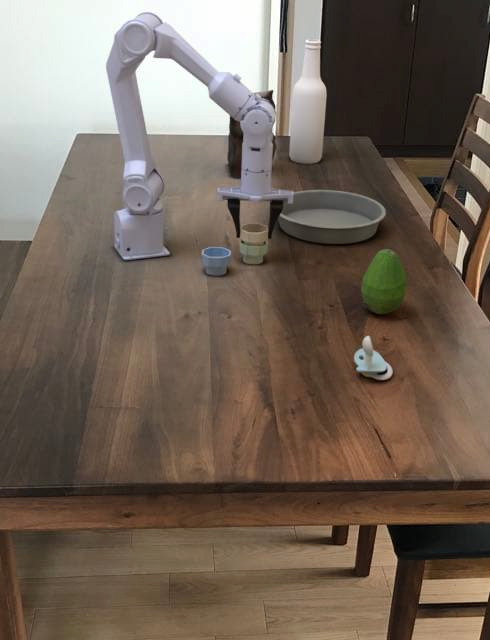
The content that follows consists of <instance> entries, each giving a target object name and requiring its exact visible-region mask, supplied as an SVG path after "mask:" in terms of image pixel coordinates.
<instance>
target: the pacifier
mask: <svg viewBox="0 0 490 640" xmlns="http://www.w3.org/2000/svg"><path fill="white" fill-rule="evenodd" d="M361 345H362V348H359V349H358V350H356V352H355V353H354V357H353V359H354V361H353V362H354V364H355V365H356V366H357V367H356V369H355V370H356V372H358V373H361V374H362V376H364V377H366V378H372V379H374V380H377V381H385V380H389V379H391V377H393V373H394V371H393V368H392V366H391V365H390V363H389V362H387V361H385V360H384V358H383V356H382V355H381V354H380V353H379V352H378V351H376V350H374V347H373V343H372V339H371V336H370V335H367V336H365V337H364V338H363V340H362V343H361ZM360 358H363V359H360ZM385 371H386V373H384V374H380V373H383V372H385ZM378 373H379V374H378Z"/></svg>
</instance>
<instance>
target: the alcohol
mask: <svg viewBox="0 0 490 640" xmlns="http://www.w3.org/2000/svg"><path fill="white" fill-rule="evenodd" d="M304 43H305V44H304V55H303V63H302V70H301V75H300V78H298V80H297V81H296V83H295V84H294V85H293V90H292V98H291V113H290V114H291V116H290V133H289V152H288V156H289V159H290V160H291V161H292V162H294V163H298V164H304V165H308V164H309V165H312V164H316V163H318V162H320V161H321V160H322V158H323V147H324V135H325V134H324V133H325V122H326V121H325V120H326V110H327V109H326V108H327V107H326V106H327V97H328V95H327V87H326V85H325V83H324V82H323V81H322V77H321V47H322V46H321V44H322V41H321V40H320V39H315V38H308V39H306V40H305V41H304Z"/></svg>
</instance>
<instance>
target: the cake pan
mask: <svg viewBox="0 0 490 640" xmlns="http://www.w3.org/2000/svg"><path fill="white" fill-rule="evenodd" d="M293 193H294V196H293V204H289V203H287V202H283V210H282V212H281V214H280V216H279V217H278V219H277V220H278V224H279V228H280V229H281V230H282V231H283V232H284V233H285V234H287V235H289V236H291V237H294V238H296V239H299V240H302V241H307V242H311V243H316V244H323V245H324V244H325V245H345V244H347V245H348V244H354V243H355V244H356V243H360V242H364V241H366V240H369V239H371V238H373V236H374V235H375V234H376V233H377V229H378V226H379V224H380V222H381V221H383V220H384V218H385V217H386V214H387V211H386V208H385V207H384V205H382V204H381V203H380V202H378V201H377V200H376V199H373V198H370V197H368V196H366V195H362V194H358V193H355V192H350V191H343V190H333V189H309V190H300V191H295V192H294V191H293Z"/></svg>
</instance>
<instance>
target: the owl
mask: <svg viewBox="0 0 490 640" xmlns="http://www.w3.org/2000/svg"><path fill="white" fill-rule="evenodd" d="M253 93H254V94H255V95H256V94H257V93H258V94H259V95H260V96H261V98H262V99H266V100H268V101H269V102H270V104H271V105H272V106H273V108H274V110H275V114H276V115H277V111H276V104H275V101H274V97H273V94H274V90H273V89H269V90H266V91H256V92H253ZM276 117H277V116H276ZM276 117H275V119H276ZM275 123H276V121H275V122H274V124H273V126H274V125H275ZM272 130H274V129H273V128H272ZM228 131H229V132H228V135H227V137H228V138H227V141H228V143H227V145H228V146H227V166H228V173H229V176H230V177H231V178H233V179H241V168H242V144H243V138H244V133H243V131H242V129H241V126H240V122H239V121H236V120H235V119H234V118H232V117H231V116H230V115H229V124H228ZM272 134H273V140H272V144H273V153H272V162H273V161H274V158H275V156H276V155H275V154H276V150H277V143H276V139H277V138H276V137H277V136H276V135H275V134H274V132H273V131H272Z"/></svg>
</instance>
